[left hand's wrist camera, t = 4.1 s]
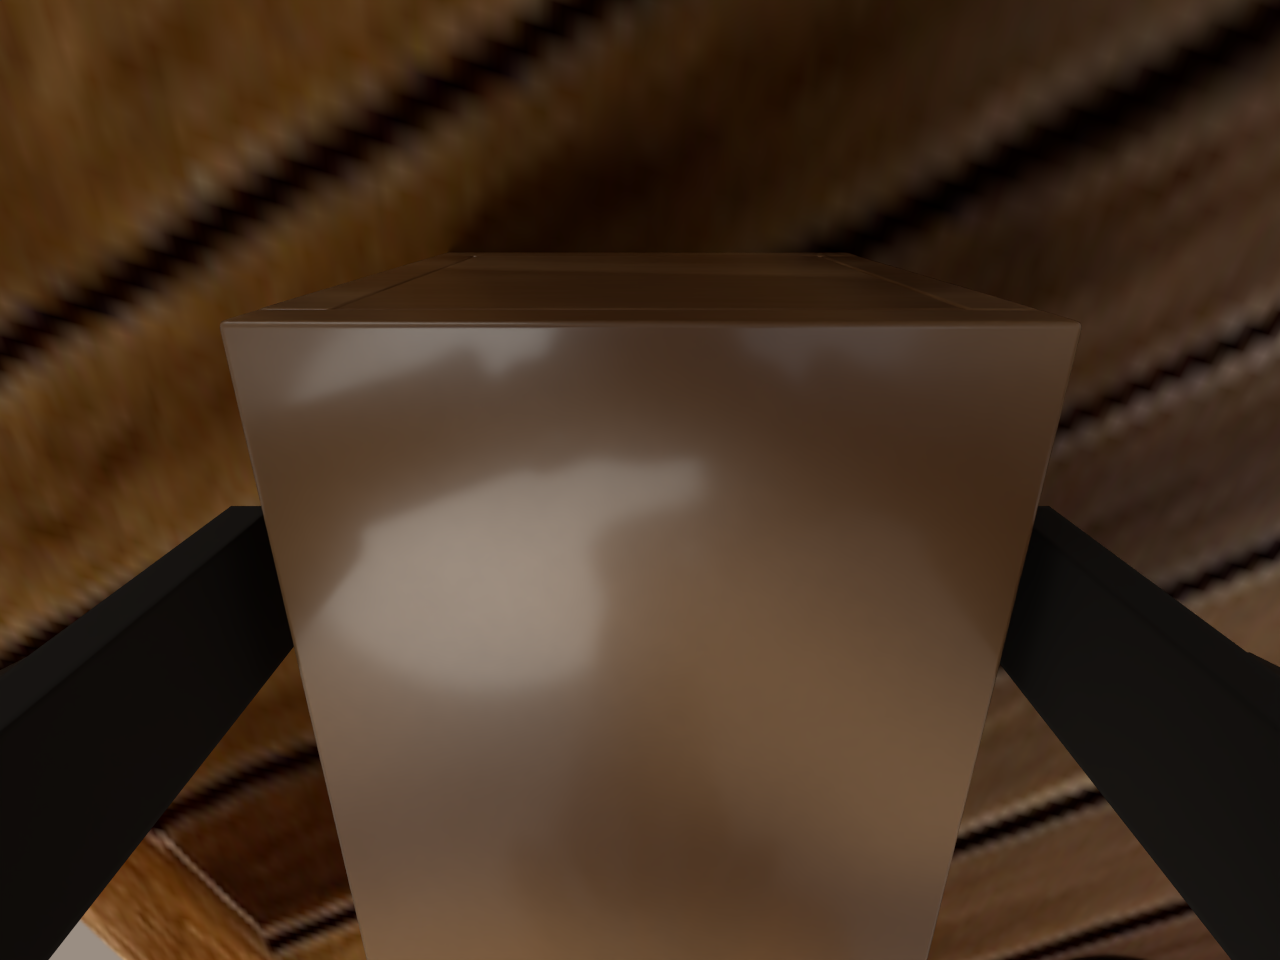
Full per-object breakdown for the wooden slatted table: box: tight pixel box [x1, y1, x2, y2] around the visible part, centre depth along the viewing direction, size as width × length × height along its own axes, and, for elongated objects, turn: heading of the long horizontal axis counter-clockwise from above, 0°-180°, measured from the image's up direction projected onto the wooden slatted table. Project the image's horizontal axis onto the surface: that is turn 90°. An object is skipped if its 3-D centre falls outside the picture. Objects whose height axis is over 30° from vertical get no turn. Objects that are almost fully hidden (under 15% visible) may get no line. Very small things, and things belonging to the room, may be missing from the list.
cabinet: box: [220, 253, 1081, 960], centre depth 19 cm, size 22×12×12 cm, turn 0°
